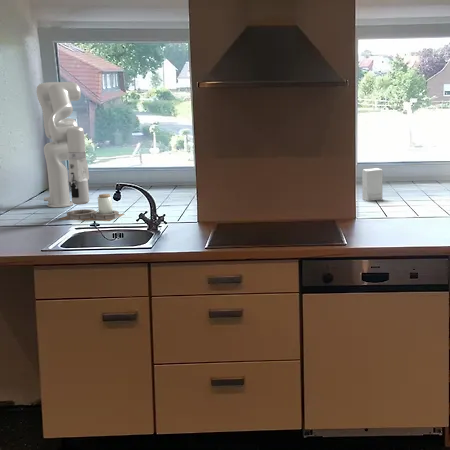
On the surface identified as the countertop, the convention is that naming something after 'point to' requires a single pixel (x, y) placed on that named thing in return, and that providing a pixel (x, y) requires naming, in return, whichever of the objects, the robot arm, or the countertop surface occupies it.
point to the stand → (90, 215)
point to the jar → (105, 204)
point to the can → (82, 193)
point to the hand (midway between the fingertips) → (80, 195)
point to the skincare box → (372, 184)
